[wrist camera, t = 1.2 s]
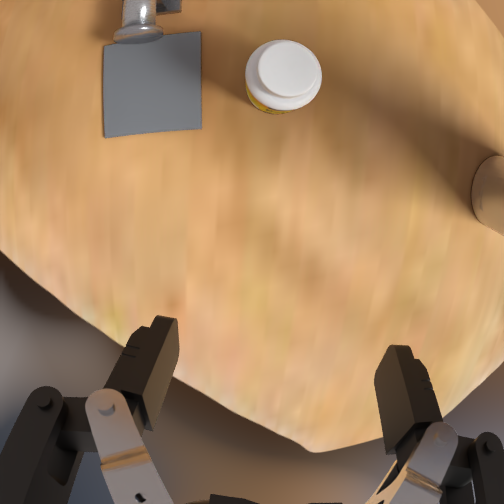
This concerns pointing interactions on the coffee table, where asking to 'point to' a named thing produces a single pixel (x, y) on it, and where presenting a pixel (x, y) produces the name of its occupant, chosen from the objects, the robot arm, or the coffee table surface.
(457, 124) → the coffee table surface
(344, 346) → the coffee table surface
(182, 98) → the plate
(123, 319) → the coffee table surface
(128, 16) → the shaft stub
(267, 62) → the supplement bottle
